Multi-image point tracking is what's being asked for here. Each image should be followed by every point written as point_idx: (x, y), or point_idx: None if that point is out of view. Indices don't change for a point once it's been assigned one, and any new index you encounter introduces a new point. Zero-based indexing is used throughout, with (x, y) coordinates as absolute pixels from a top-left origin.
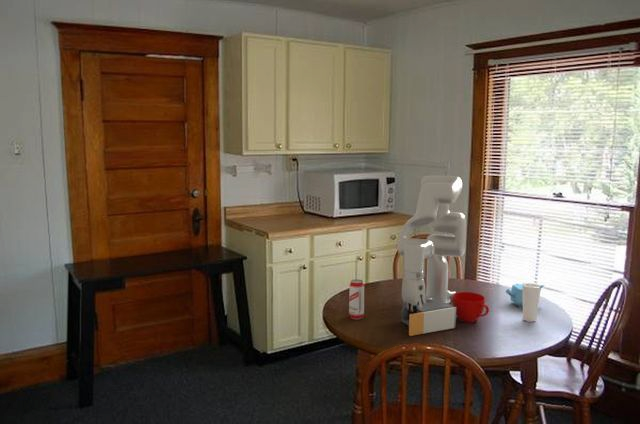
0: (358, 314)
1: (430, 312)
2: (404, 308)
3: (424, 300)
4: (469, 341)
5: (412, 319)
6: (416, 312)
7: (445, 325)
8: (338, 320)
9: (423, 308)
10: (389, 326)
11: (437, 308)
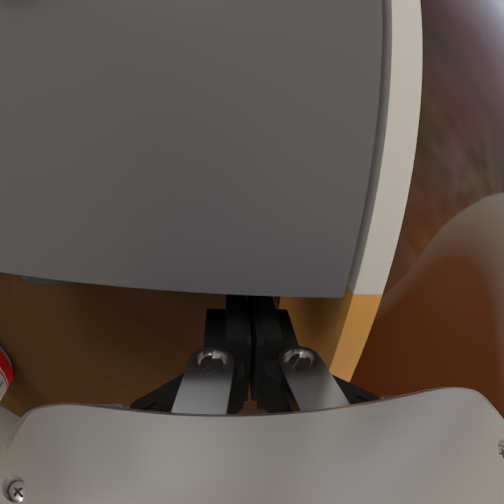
0: (5, 382)
1: (403, 191)
2: (36, 278)
3: (499, 444)
4: (484, 79)
5: None
6: (279, 326)
7: None
8: (23, 407)
9: (259, 197)
10: (98, 312)
11: (370, 15)
